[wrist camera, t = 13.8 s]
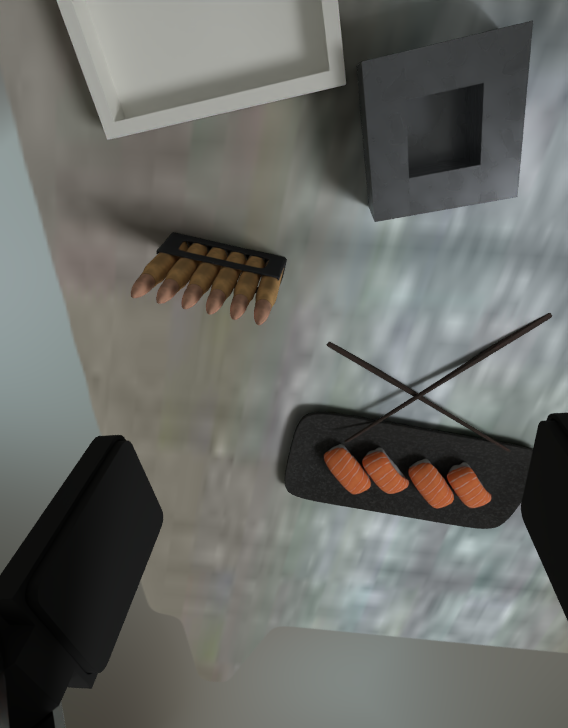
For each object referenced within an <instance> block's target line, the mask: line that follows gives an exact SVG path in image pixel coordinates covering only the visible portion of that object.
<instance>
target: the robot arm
mask: <svg viewBox="0 0 568 728" xmlns="http://www.w3.org/2000/svg"><path fill="white" fill-rule="evenodd" d="M521 513H522V518H523V521H524V523H525V525H526V528H527V530H528V532H529V534H530V537H531V539H532V541H533V544H534V546H535V548H536V550H537V553H538V555H539V557H540V559H541V562H542V564H543V566H544V568H545V571H546V573H547V575H548V577H549V580H550V582H551V584H552V586H553V589H554V591H555V593H556V595H557V598H558V600H559V602H560V605H561V607H562V609H563V611H564V614H565V616H566V618H567V620H568V413H553V414H550V415H549V416H548V418H547V420H546V421H541V422H540V423H539V425H538V429H537V434H536V438H535V443H534V447H533V452H532V456H531V461H530V466H529V470H528V475H527V479H526V484H525V489H524V493H523V498H522V502H521ZM162 523H163V512H162V509H161V507H160V505H159V502H158V500H157V498H156V496H155V494H154V491H153V489H152V487H151V485H150V483H149V480H148V478H147V476H146V474H145V472H144V469H143V467H142V465H141V463H140V461H139V458H138V456H137V454H136V452H135V450H134V447H133V445H132V444H131V442H130V441H126V439H125V438H124V437H123V436H122V435H110V436H98V437H96V438H95V439H94V440H93V441H92V443H91V444H90V445H89V447H88V448H87V450H86V451H85V453H84V454H83V456H82V457H81V459H80V460H79V461H78V463H77V464H76V466H75V467H74V469H73V470H72V472H71V473H70V474H69V476H68V477H67V479H66V480H65V482H64V483H63V485H62V486H61V488H60V489H59V490H58V492H57V493H56V495H55V496H54V498H53V499H52V501H51V502H50V504H49V505H48V506H47V508H46V509H45V511H44V512H43V514H42V515H41V517H40V518H39V520H38V521H37V523H36V524H35V526H34V527H33V528H32V530H31V531H30V533H29V534H28V536H27V537H26V538H25V540H24V542H23V543H22V544H21V546H20V547H19V549H18V550H17V552H16V553H15V555H14V556H13V557H12V559H11V560H10V562H9V563H8V565H7V566H6V567H5V569H4V570H3V572H2V573H1V575H0V728H66V727H65V721H64V716H63V710H62V704H61V700H62V698H63V695H64V693H65V691H66V689H67V686H68V687H72V688H89V689H91V688H92V686H93V684H94V681H95V679H96V677H97V674H98V673H100V672H102V671H103V670H104V669H105V667H106V665H107V663H108V661H109V658H110V656H111V653H112V651H113V648H114V646H115V643H116V641H117V638H118V636H119V633H120V631H121V628H122V625H123V623H124V621H125V618H126V615H127V613H128V610H129V608H130V605H131V602H132V600H133V598H134V595H135V592H136V590H137V588H138V585H139V582H140V580H141V577H142V575H143V572H144V570H145V567H146V565H147V562H148V560H149V557H150V555H151V552H152V549H153V547H154V544H155V542H156V539H157V537H158V534H159V532H160V529H161V527H162Z"/></svg>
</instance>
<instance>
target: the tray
mask: <svg viewBox="0 0 568 728" xmlns="http://www.w3.org/2000/svg"><path fill="white" fill-rule="evenodd" d="M57 3H58V6H59V9H60V11H61V14H62V17H63V20H64V22H65V25H66V28H67V31H68V33H69V36H70V39H71V41H72V44H73V47H74V50H75V52H76V55H77V58H78V61H79V63H80V66H81V69H82V71H83V74H84V77H85V80H86V82H87V85H88V88H89V91H90V93H91V96H92V99H93V101H94V104H95V107H96V110H97V112H98V115H99V118H100V121H101V123H102V126H103V129H104V131H105V134H106V137H107V140H109V139H114V138H119V137H124V136H128V135H132V134H137V133H141V132H145V131H149V130H154V129H158V128H162V127H167V126H171V125H175V124H180V123H184V122H188V121H193V120H197V119H201V118H206V117H210V116H214V115H219V114H223V113H227V112H232V111H236V110H240V109H245V108H249V107H253V106H258V105H262V104H266V103H271V102H275V101H279V100H283V99H288V98H292V97H296V96H301V95H305V94H309V93H314V92H318V91H322V90H327V89H331V88H335V87H340V86H344V85H346V77H345V67H344V57H343V47H342V37H341V27H340V16H339V6H338V0H57Z"/></svg>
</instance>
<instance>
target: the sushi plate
mask: <svg viewBox="0 0 568 728" xmlns="http://www.w3.org/2000/svg"><path fill="white" fill-rule="evenodd" d="M551 317H552V315H551V313H548V314H546V315H545V316H543V317H541V318H539V319H537V320H536V321H534V322H532V323H530V324H528V325H527V326H525V327H523V328H521V329H520V330H518V331H516V332H514V333H513V334H511V335H509V336H507V337H506V338H504V339H502V340H500V341H499V342H497V343H495V344H494V345H492V346H491V347H489V348H488V349H486V350H484V351H483V352H481V353H480V354H478V355H477V356H475V357H474V358H472V359H471V360H469V361H468V362H466V363H465V364H463V365H461V366H460V367H458V368H457V369H455V370H454V371H452V372H451V373H449V374H448V375H446V376H445V377H443V378H442V379H440V380H439V381H437V382H435V383H434V384H432V385H431V386H429V387H428V388H426V389H425V390H423V391H421V392H420V393H416V392H415V391H413V390H411V389H410V388H408V387H407V386H405V385H403V384H402V383H400V382H399V381H397V380H395V379H394V378H392V377H390V376H389V375H387V374H386V373H384V372H382V371H381V370H379V369H378V368H376V367H374V366H372V365H371V364H369V363H367V362H365V361H364V360H362V359H360V358H358V357H356V356H355V355H353V354H351V353H349V352H348V351H346V350H344V349H342V348H341V347H339V346H337V345H335V344H333V343H331V342H328V344H327V346H328V347H330V348H331V349H333V350H335V351H336V352H338V353H340V354H341V355H343V356H345V357H347V358H348V359H350V360H352V361H353V362H355V363H357V364H359V365H360V366H362V367H364V368H365V369H367V370H369V371H371V372H372V373H374V374H376V375H377V376H379V377H381V378H383V379H384V380H386V381H388V382H389V383H391V384H393V385H395V386H396V387H398V388H400V389H402V390H403V391H405V392H407V393H409V394H410V395H412V396H414V397H412V398H411V399H409V400H407V401H406V402H404V403H403V404H401V405H400V406H398V407H396V408H395V409H393V410H392V411H390V412H389V413H387V414H385V415H384V416H382V417H381V418H379V419H378V420H373V419H368V418H362V417H356V416H350V415H344V414H337V413H327V412H316V413H310V414H307V415H306V416H304V417H303V418H302V419H301V421H300V422H299V424H298V426H297V428H296V431H295V434H294V437H293V441H292V445H291V449H290V453H289V458H288V462H287V467H286V473H285V486H286V489H287V491H288V492H289V493H291V494H292V495H295V496H297V497H300V498H304V499H308V500H312V501H317V502H323V503H328V504H334V505H340V506H346V507H351V508H357V509H363V510H369V511H375V512H381V513H387V514H392V515H398V516H404V517H410V518H416V519H422V520H427V521H433V522H439V523H445V524H451V525H457V526H463V527H471V528H481V529H488V528H495V527H498V526H500V525H501V524H503V523H504V522H505V521H506V520H508V519H509V517H510V516H511V515H512V514H513V513H514V511H515V510H516V509H517V508H518V506H519V505H520V503H521V502H522V498H523V493H524V489H525V484H526V479H527V475H528V470H529V466H530V461H531V456H532V452H533V449H530V448H527V447H523V446H519V445H514V444H509V443H504V442H498V441H495V440H493V439H492V438H490V437H488V436H487V435H485V434H483V433H482V432H480V431H478V430H477V429H475V428H473V427H472V426H470V425H469V424H467V423H465V422H464V421H462V420H460V419H459V418H457V417H455V416H454V415H452V414H450V413H449V412H447V411H445V410H444V409H442V408H441V407H439V406H437V405H436V404H434V403H432V402H431V401H429V400H428V399H426V398H424V397H423V395H425V394H426V393H428V392H430V391H431V390H433V389H435V388H436V387H438V386H440V385H441V384H443V383H445V382H446V381H448V380H450V379H451V378H453V377H455V376H456V375H458V374H460V373H461V372H463V371H465V370H466V369H468V368H470V367H471V366H473V365H475V364H476V363H478V362H480V361H481V360H483V359H485V358H486V357H488V356H489V355H491V354H493V353H494V352H496V351H498V350H499V349H501V348H503V347H504V346H506V345H507V344H509V343H511V342H512V341H514V340H516V339H517V338H519V337H521V336H522V335H524V334H526V333H527V332H529V331H530V330H532V329H534V328H535V327H537V326H539V325H540V324H542V323H543V322H545V321H547V320H548V319H550V318H551ZM417 399H419V400H421V401H422V402H424V403H426V404H428V405H429V406H431V407H433V408H434V409H436V410H438V411H439V412H441V413H443V414H445V415H446V416H448V417H450V418H451V419H453V420H455V421H456V422H458V423H460V424H461V425H463V426H465V427H467V428H468V429H470V430H472V431H473V432H475V433H477V434H478V435H480V436H482V437H483V438H485V439H482V438H476V437H470V436H465V435H459V434H453V433H447V432H442V431H436V430H430V429H425V428H419V427H413V426H408V425H402V424H396V423H391V422H385V421H383V420H384V419H386V418H388V417H389V416H391V415H392V414H394V413H396V412H397V411H399V410H401V409H402V408H404V407H405V406H407V405H409V404H410V403H412V402H413V401H415V400H417Z"/></svg>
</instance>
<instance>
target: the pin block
mask: <svg viewBox="0 0 568 728" xmlns="http://www.w3.org/2000/svg"><path fill="white" fill-rule="evenodd" d="M532 26H533V21H529V22H525V23H521V24H517V25H513V26H508V27H504V28H500V29H496V30H492V31H487V32H483V33H479V34H475V35H471V36H467V37H462V38H458V39H454V40H450V41H446V42H441V43H437V44H433V45H429V46H425V47H421V48H416V49H412V50H408V51H404V52H400V53H395V54H391V55H387V56H383V57H379V58H375V59H370V60H366V61H362V62H361V63H360V64H358V65H357V77H358V89H359V100H360V112H361V124H362V135H363V147H364V158H365V170H366V181H367V193H368V204H369V209H370V211H371V214H372V216H373V219H374V221H375V222H377V221H383V220H388V219H394V218H400V217H406V216H411V215H417V214H423V213H428V212H434V211H440V210H446V209H451V208H457V207H463V206H468V205H474V204H480V203H485V202H491V201H497V200H503V199H508V198H514V197H517V196H518V185H519V173H520V162H521V151H522V140H523V128H524V117H525V106H526V94H527V83H528V72H529V60H530V49H531V38H532Z"/></svg>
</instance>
